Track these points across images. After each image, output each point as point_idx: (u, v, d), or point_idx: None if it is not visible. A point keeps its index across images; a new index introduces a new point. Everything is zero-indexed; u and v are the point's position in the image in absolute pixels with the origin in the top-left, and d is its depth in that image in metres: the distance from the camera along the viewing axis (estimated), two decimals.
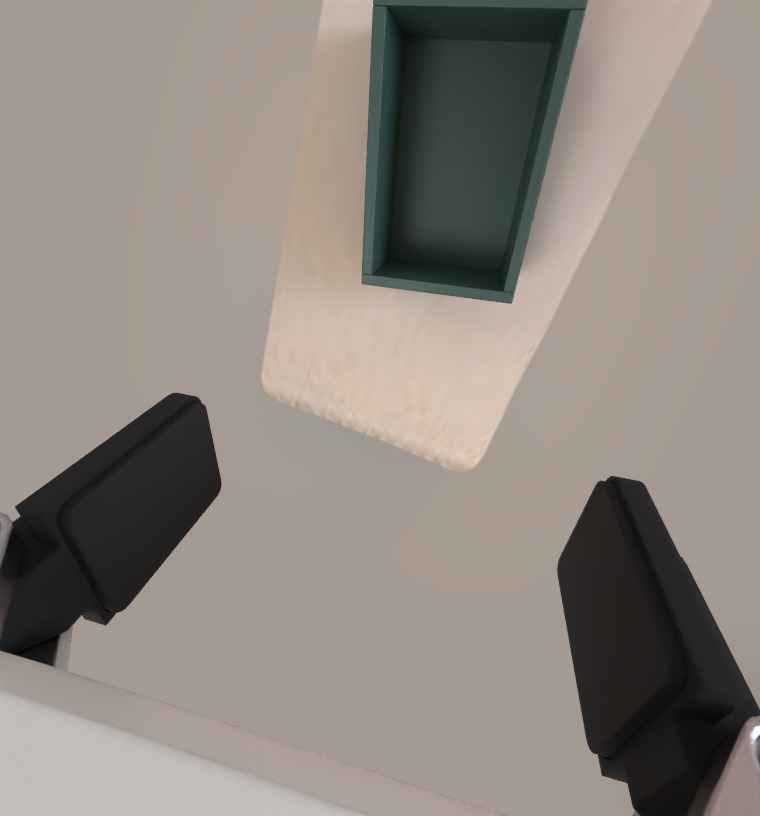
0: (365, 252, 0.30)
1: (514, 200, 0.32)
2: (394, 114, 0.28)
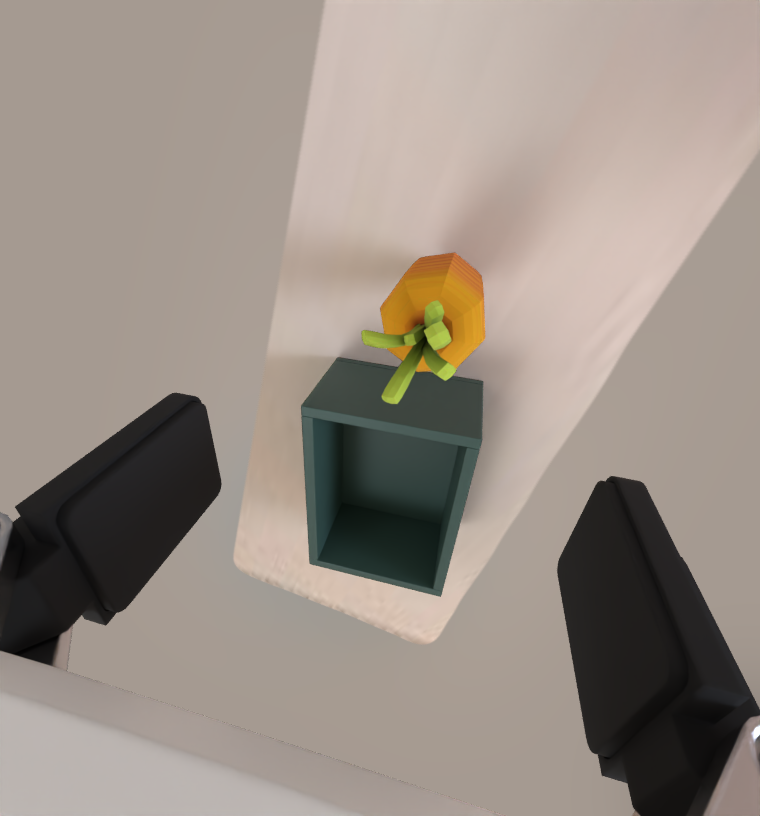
0: (310, 547, 0.33)
1: (448, 482, 0.35)
2: (334, 434, 0.32)
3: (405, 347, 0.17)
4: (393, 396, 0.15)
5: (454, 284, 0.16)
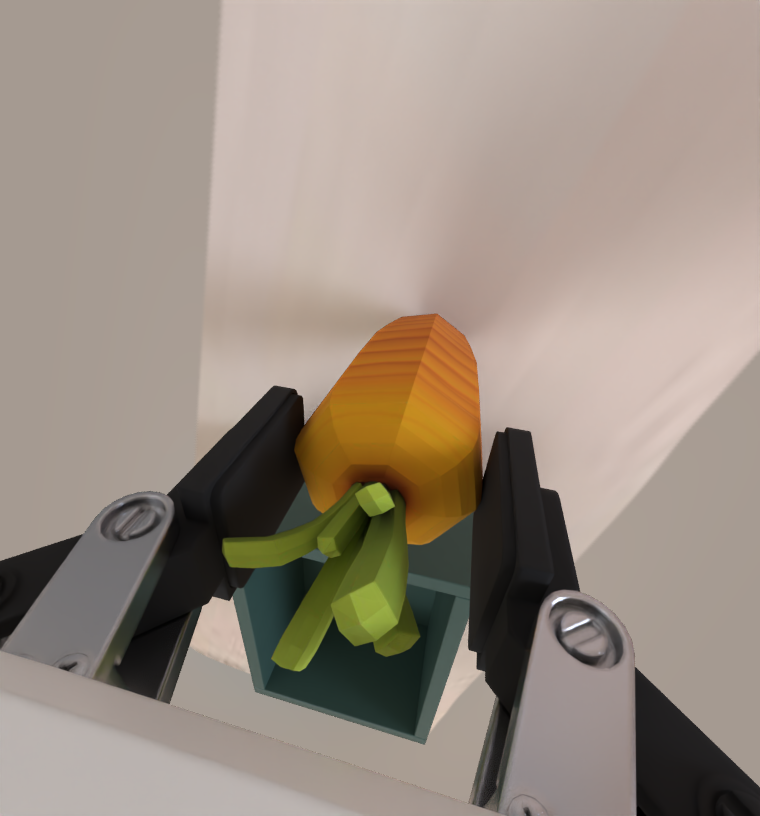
0: (253, 676, 0.25)
1: None
2: None
3: None
4: (294, 666, 0.07)
5: (421, 418, 0.08)
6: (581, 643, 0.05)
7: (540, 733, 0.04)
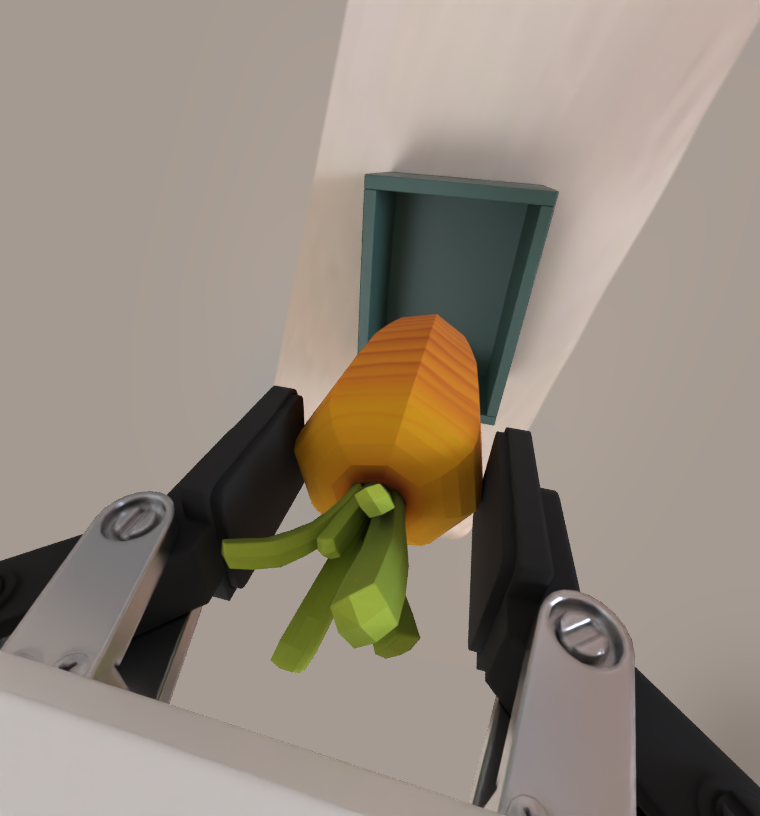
0: None
1: (498, 320, 0.34)
2: (385, 253, 0.31)
3: None
4: (293, 667, 0.07)
5: (421, 419, 0.08)
6: (581, 645, 0.05)
7: (540, 733, 0.04)
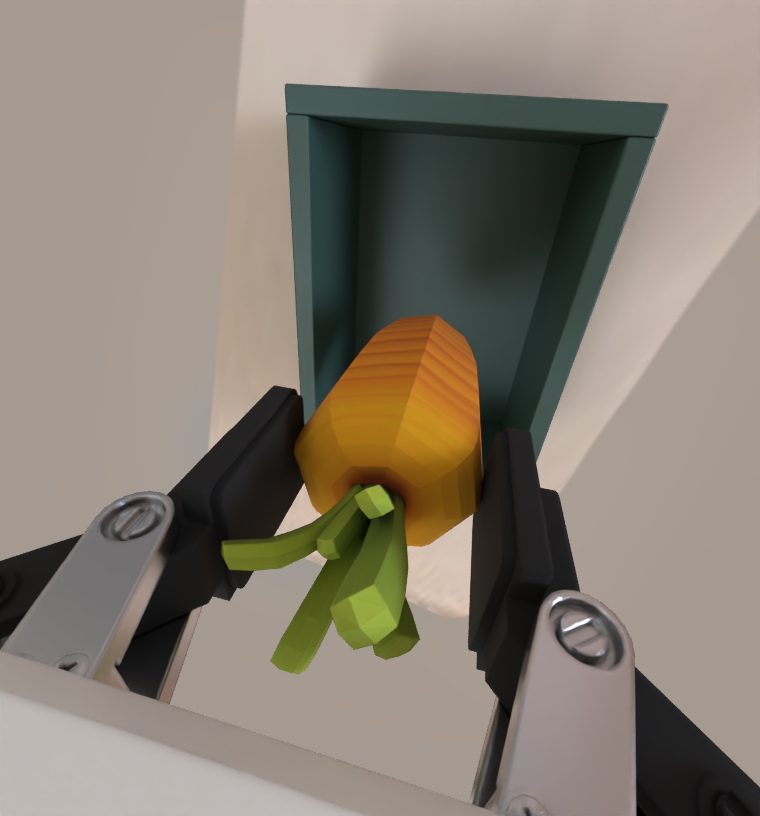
0: None
1: (521, 343, 0.22)
2: (345, 240, 0.19)
3: None
4: (293, 669, 0.07)
5: (421, 420, 0.08)
6: (581, 644, 0.05)
7: (540, 733, 0.04)
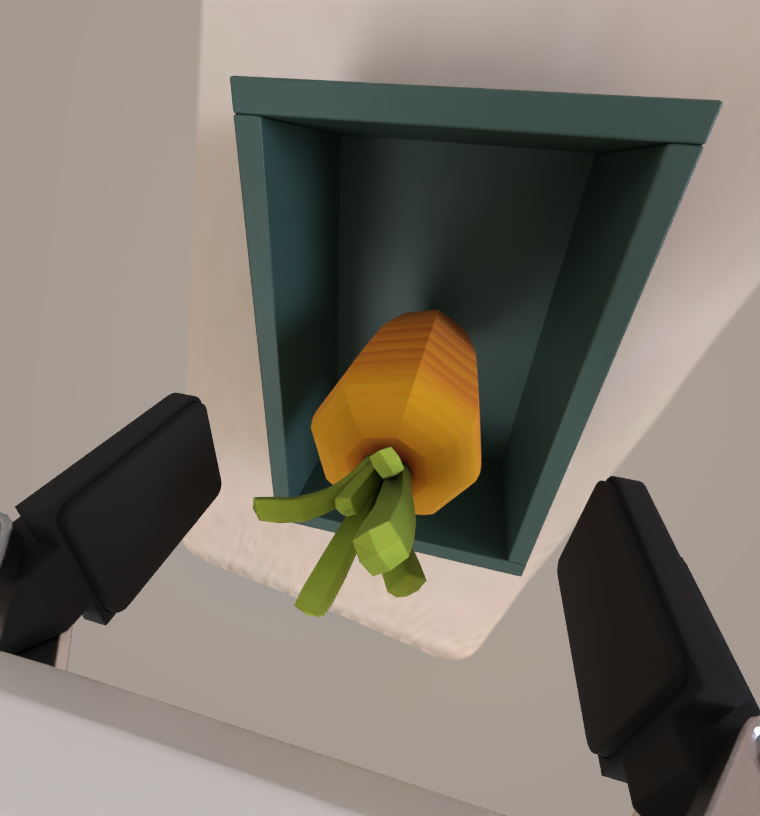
0: (275, 484, 0.18)
1: (524, 376, 0.20)
2: (320, 261, 0.17)
3: None
4: (314, 611, 0.08)
5: (426, 397, 0.09)
6: None
7: None
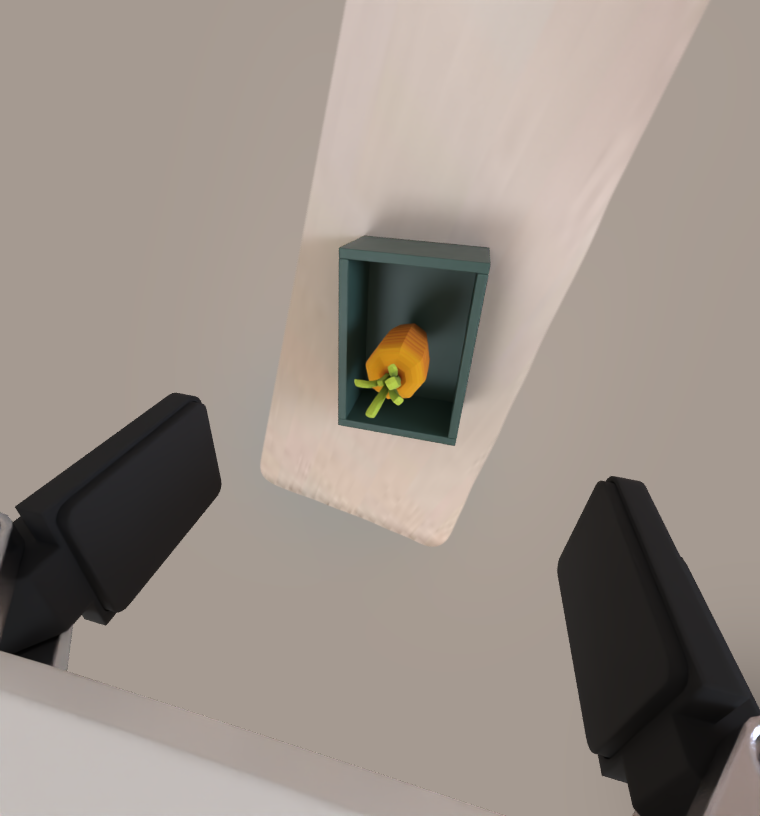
0: (340, 405, 0.38)
1: (459, 355, 0.40)
2: (361, 302, 0.37)
3: None
4: (372, 413, 0.28)
5: (405, 352, 0.29)
6: None
7: None
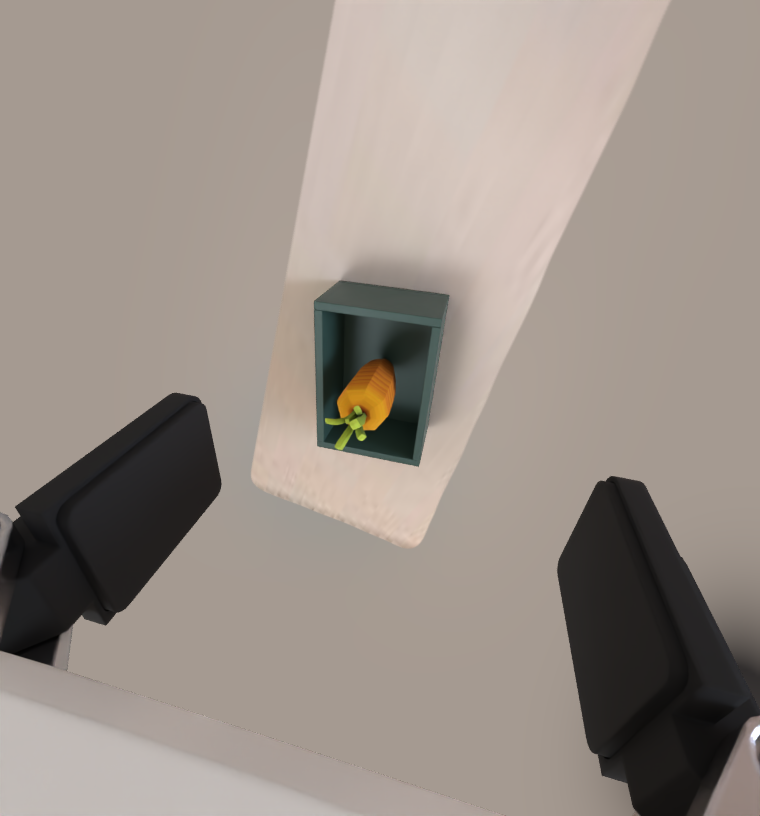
0: (318, 429, 0.43)
1: None
2: (337, 339, 0.42)
3: None
4: (339, 447, 0.33)
5: (369, 393, 0.34)
6: None
7: None
